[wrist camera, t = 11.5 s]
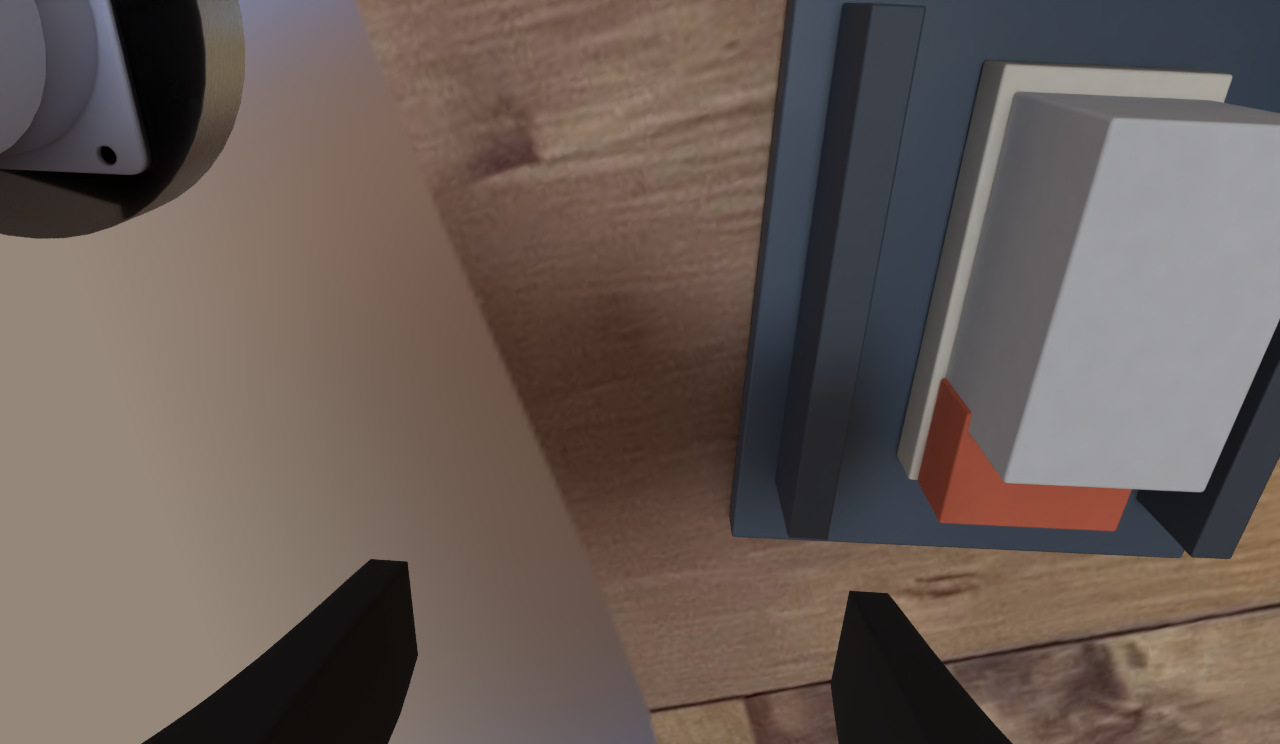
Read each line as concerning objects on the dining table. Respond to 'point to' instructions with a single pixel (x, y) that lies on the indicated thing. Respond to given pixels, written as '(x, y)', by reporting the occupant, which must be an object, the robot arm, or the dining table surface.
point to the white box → (1094, 294)
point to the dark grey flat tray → (910, 255)
